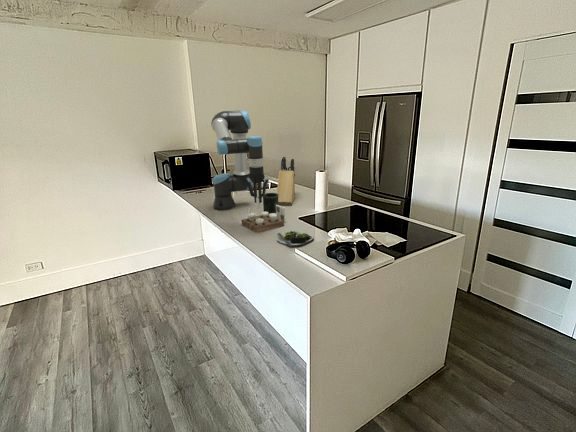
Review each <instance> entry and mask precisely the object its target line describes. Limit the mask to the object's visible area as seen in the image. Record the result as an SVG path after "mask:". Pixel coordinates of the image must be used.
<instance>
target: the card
mask: <svg viewBox="0 0 576 432" xmlns="http://www.w3.org/2000/svg"><path fill="white" fill-rule="evenodd" d="M276 214H277V218H278V219H281V220H283V221H284V223H286V220H287V219H286V217H287V216H286V207H284V206H281V205H276Z"/></svg>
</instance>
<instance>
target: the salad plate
mask: <svg viewBox="0 0 576 432" xmlns="http://www.w3.org/2000/svg"><path fill="white" fill-rule="evenodd" d="M277 235H278V237H277V238H276V240H277V242H279V243H280V244H283V245H285V246H288V247H291V248H301V247H304V246H306V245H308V244H310V243H312V241H314V236H313V235H312V234H309V233H307V232H306V233H305V232H302V231H297V230H293V231H292V230H290V231H287V232H286V231H284V234H282V233H281V232H278V233H277ZM277 235H276V236H277ZM303 245H304V246H303ZM300 246H301V247H300Z"/></svg>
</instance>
